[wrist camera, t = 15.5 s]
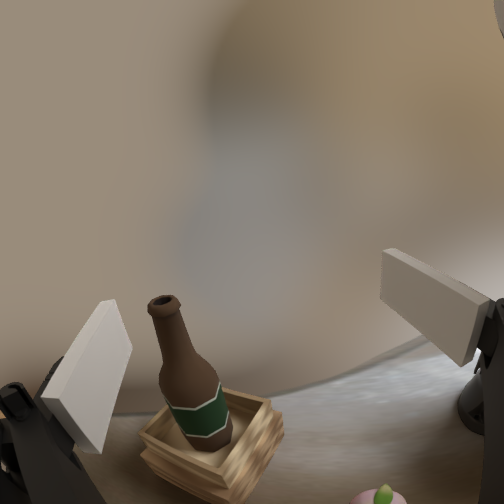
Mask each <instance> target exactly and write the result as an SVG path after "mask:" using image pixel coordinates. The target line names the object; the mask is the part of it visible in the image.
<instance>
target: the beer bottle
mask: <svg viewBox="0 0 504 504" xmlns="http://www.w3.org/2000/svg"><path fill="white" fill-rule="evenodd" d="M180 306H181V304H180V302H179V301H178V299H177V298H176V297H174V296H173V295H162V296H159V297H157V298H154V299H152V300H151V301H150V303H149V304H148V313H149V314H150V315H151V316H152V319H153V323H154V326H155V330H156V334H157V337H158V341H159V345H160V349H161V352H162V357H163V365H162V368H161V371H160V373H159V385H160V388H161V391H162V393H163V396H164V398H165V400H166V402H167V405H168V407H169V409H170V411H171V413H172V415H173V417H174V419H175V421H176V423H177V424H178V426H179V428H180V430H181V432H182V434H183V435H184V437H185V438H186V439H187V441H188V442H189V443H190V444H191V446H192V447H193V448H194V449H195V450H197V451H206V452H216V451H218V450H219V449H221V448H223V447H224V446H226V445H228V444H229V443H230V442H231V437H232V432H233V424H232V420H231V417H230V414H229V410H228V407H227V404H226V401H225V397H224V394H223V391H222V387H221V384H220V381H219V378H218V376H217V373H216V371H215V370H214V369H213V367H212V366H211V365H210V364H209V363H208V362H207V361H206V360H205V359H203V358H202V357H201V356H200V355H199V354H197V353H196V351H195V349H194V348H193V346H192V343H191V340H190V338H189V335H188V332H187V330H186V327H185V324H184V321H183V318H182V316H181V313H180V310H179V308H180Z"/></svg>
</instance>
